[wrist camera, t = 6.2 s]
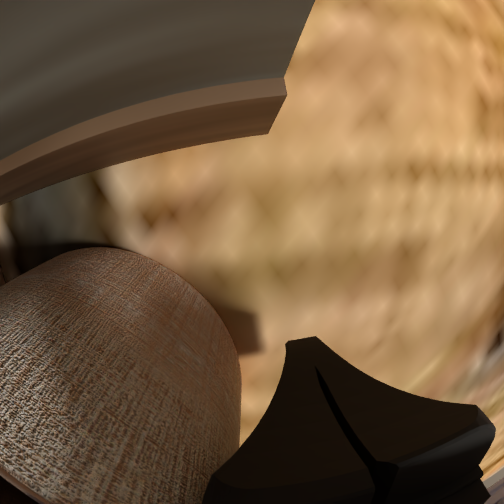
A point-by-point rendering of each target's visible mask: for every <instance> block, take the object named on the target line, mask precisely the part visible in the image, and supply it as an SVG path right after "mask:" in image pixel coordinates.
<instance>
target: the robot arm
mask: <svg viewBox="0 0 504 504" xmlns="http://www.w3.org/2000/svg"><path fill="white" fill-rule="evenodd" d="M285 347H286V357H285V363H284V367H283V371H282V375H281V378H280V381H279V384H278V386H277V389H276V392H275V394H274V396H273V398H272V401H271V403H270V405H269V406H268V408H267V410H266V412H265V414H264V415H263V417H262V419H261V420H260V422H259V423H258V425H257V426H256V428H255V429H254V431H253V432H252V433H251V435H250V436H249V437H248V438H247V439H246V441H245V442H244V443H243V444H242V445H241V447H240V448H239V449H238V450H237V451H236V452H235V453H234V454H233V456H231V457H230V458H229V459H228V460H227V461H226V462H225V463H224V464H223V465H222V466H221V467H220V468H219V469H217V470H216V471H215V472H214V473H213V474H212V475H211V478H210V480H209V482H208V485H207V487H206V490H205V493H204V496H203V500H202V504H504V478H502V479H501V480H499V481H498V482H496V483H495V484H494V485H492V486H491V487H489V488H488V489H486V487H485V486H484V484H483V482H482V481H481V479H480V478H482V476H483V471H482V470H481V468H480V467H479V464H480V462H481V461H482V459H483V458H484V456H485V454H486V453H487V451H488V449H489V448H490V446H491V444H492V442H493V440H494V437H495V431H496V428H495V426H494V425H493V423H492V422H491V421H490V420H489V419H488V417H487V416H486V415H485V414H484V413H483V412H482V411H481V410H480V408H479V407H477V406H476V405H471V404H460V403H450V402H443V401H438V400H433V399H429V398H424V397H421V396H417V395H414V394H411V393H408V392H405V391H402V390H399V389H396V388H394V387H391V386H389V385H387V384H385V383H382V382H380V381H378V380H376V379H374V378H372V377H370V376H369V375H367V374H365V373H363V372H362V371H360V370H359V369H357V368H355V367H354V366H353V365H351V364H350V363H348V362H347V361H346V360H344V359H343V358H341V357H340V356H339V355H338V354H336V353H335V352H334V351H333V350H331V349H330V348H329V347H328V346H327V345H325V344H324V343H323V342H322V341H321V340H320V339H319V338H317V337H316V336H314V337H308V338H303V339H297V340H291V341H288V342H287V343H286V344H285Z"/></svg>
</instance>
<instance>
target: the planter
mask: <svg viewBox="0 0 504 504" xmlns="http://www.w3.org/2000/svg"><path fill="white" fill-rule="evenodd" d="M241 385H242V381H241V370H240V364H239V360H238V355H237V352H236V348H235V345H234V343H233V340H232V338H231V335H230V333H229V331H228V329H227V327H226V326H225V324H224V322H223V321H222V319H221V318H220V316H219V315H218V313H217V312H216V311H215V309H214V308H213V307H212V306H211V304H210V303H209V302H208V301H207V300H206V298H205V297H204V296H203V295H202V294H201V293H200V292H199V291H198V290H197V289H195V288H194V287H193V286H192V285H191V284H190V283H189V282H187V281H186V280H185V279H183V278H182V277H181V276H179V275H178V274H176V273H175V272H173V271H172V270H170V269H169V268H167V267H165V266H164V265H162V264H160V263H158V262H156V261H154V260H152V259H150V258H147V257H145V256H142V255H140V254H136V253H133V252H130V251H126V250H122V249H117V248H108V247H91V248H83V249H78V250H73V251H69V252H66V253H63V254H61V255H59V256H56V257H54V258H52V259H50V260H48V261H46V262H44V263H43V264H41V265H39V266H37V267H35V268H33V269H31V270H29V271H27V272H26V273H24V274H22V275H20V276H18V277H16V278H15V279H13V280H11V281H9V282H8V283H6V284H4V285H2V286H1V287H0V504H202V500H203V496H204V493H205V490H206V487H207V485H208V482H209V480H210V478H211V475H212V474H213V473H214V472H215V471H216V470H217V469H219V468H220V467H221V466H222V465H223V464H224V463H225V462H226V461H227V460H228V459H229V458H230V457H231V456H233V454H234V453H235V452H236V451H237V450H238V449H239V441H240V416H241Z"/></svg>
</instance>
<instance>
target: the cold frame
mask: <svg viewBox="0 0 504 504" xmlns="http://www.w3.org/2000/svg"><path fill="white" fill-rule="evenodd" d="M314 2H315V0H0V205H2V204H5V203H7V202H9V201H12V200H14V199H17V198H19V197H21V196H24V195H26V194H29V193H32V192H34V191H37V190H39V189H42V188H45V187H47V186H50V185H53V184H56V183H58V182H61V181H64V180H67V179H70V178H73V177H76V176H79V175H82V174H85V173H89V172H92V171H95V170H98V169H102V168H105V167H109V166H112V165H116V164H119V163H123V162H126V161H130V160H134V159H138V158H142V157H146V156H150V155H154V154H158V153H163V152H167V151H172V150H176V149H181V148H186V147H191V146H196V145H201V144H206V143H212V142H217V141H223V140H229V139H235V138H242V137H249V136H256V135H263V134H268V133H269V131H270V128H271V126H272V124H273V122H274V120H275V118H276V116H277V114H278V112H279V110H280V108H281V106H282V104H283V102H284V100H285V99H286V97H287V91H286V86H285V81H284V75H285V73H286V70H287V68H288V65H289V63H290V60H291V58H292V55H293V53H294V50H295V48H296V45H297V43H298V40H299V38H300V35H301V33H302V30H303V28H304V26H305V23H306V21H307V18H308V16H309V14H310V11H311V9H312V6H313V4H314ZM4 284H5V281H4V277H3V274H2V270H1V266H0V287H1V286H2V285H4Z"/></svg>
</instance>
